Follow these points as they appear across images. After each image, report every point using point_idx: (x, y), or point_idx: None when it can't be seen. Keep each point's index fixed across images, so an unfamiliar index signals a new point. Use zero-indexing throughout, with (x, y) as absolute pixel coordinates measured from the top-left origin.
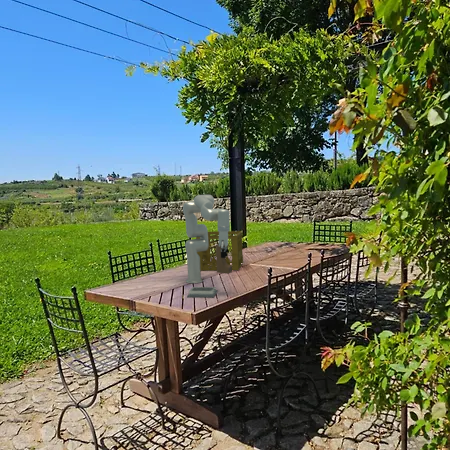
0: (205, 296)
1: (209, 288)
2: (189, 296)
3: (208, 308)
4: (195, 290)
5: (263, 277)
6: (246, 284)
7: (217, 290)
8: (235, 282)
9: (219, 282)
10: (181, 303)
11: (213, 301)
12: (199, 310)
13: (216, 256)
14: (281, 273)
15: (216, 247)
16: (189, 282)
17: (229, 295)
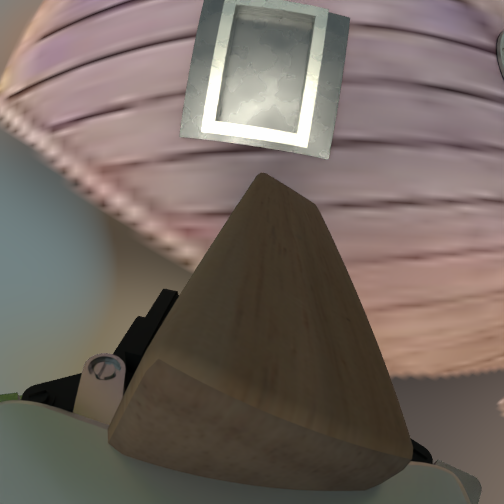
0: (186, 92)
1: (300, 107)
2: (202, 9)
3: (30, 141)
4: (312, 28)
5: (493, 368)
6: (429, 314)
7: (320, 157)
8: (479, 265)
9: (501, 186)
10: (105, 5)
11: (116, 145)
12: (14, 112)
13: (234, 212)
14: (501, 408)
15: (163, 323)
16: (500, 36)
17: None
